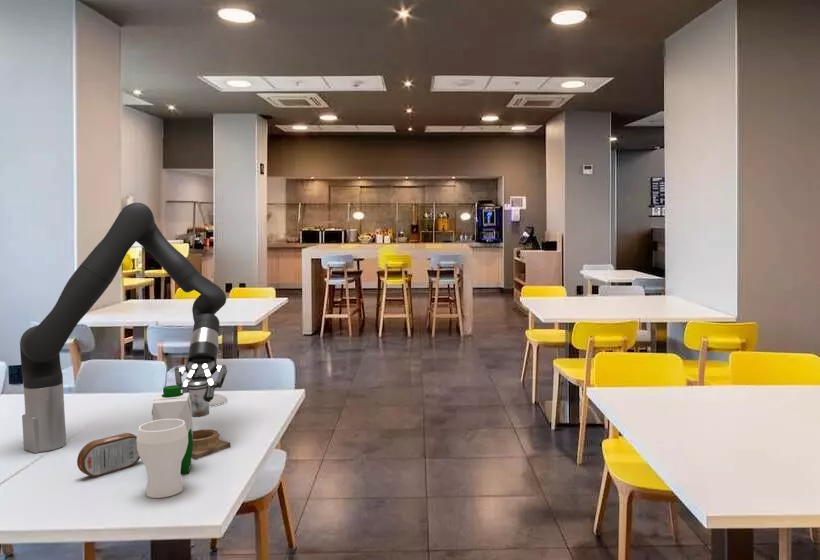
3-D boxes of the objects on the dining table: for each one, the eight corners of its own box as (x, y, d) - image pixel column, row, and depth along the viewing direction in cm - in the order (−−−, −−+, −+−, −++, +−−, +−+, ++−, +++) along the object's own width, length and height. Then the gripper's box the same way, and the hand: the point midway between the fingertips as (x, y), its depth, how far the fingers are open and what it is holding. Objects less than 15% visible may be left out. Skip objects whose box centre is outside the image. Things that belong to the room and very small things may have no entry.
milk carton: (195, 461, 154) (191, 383, 153) (192, 474, 145) (188, 392, 144) (157, 465, 152) (154, 386, 150) (152, 479, 143) (148, 395, 142)
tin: (139, 460, 156) (138, 428, 155) (145, 463, 154) (144, 430, 153) (77, 479, 144) (75, 444, 143) (83, 482, 142) (81, 447, 141)
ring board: (196, 459, 155) (195, 444, 155) (169, 452, 161) (168, 437, 161) (230, 446, 165) (230, 432, 164) (203, 440, 171) (203, 426, 170)
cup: (196, 481, 141) (193, 417, 140) (181, 500, 131) (178, 431, 130) (150, 482, 141) (147, 418, 140) (130, 502, 130) (127, 433, 129)
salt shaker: (197, 418, 159) (195, 384, 158) (184, 415, 162) (183, 382, 161) (213, 413, 163) (212, 380, 163) (201, 410, 166) (199, 378, 165)
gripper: (174, 341, 168) (165, 395, 157) (228, 338, 170) (223, 392, 159) (179, 356, 173) (171, 409, 162) (232, 354, 175) (227, 406, 164)
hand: (197, 400), depth 160 cm, fingers closed on salt shaker, 5 cm apart
